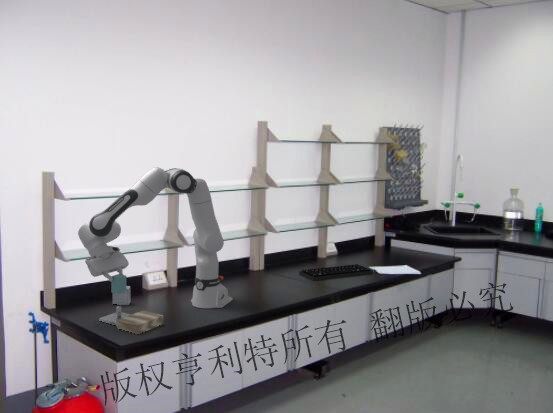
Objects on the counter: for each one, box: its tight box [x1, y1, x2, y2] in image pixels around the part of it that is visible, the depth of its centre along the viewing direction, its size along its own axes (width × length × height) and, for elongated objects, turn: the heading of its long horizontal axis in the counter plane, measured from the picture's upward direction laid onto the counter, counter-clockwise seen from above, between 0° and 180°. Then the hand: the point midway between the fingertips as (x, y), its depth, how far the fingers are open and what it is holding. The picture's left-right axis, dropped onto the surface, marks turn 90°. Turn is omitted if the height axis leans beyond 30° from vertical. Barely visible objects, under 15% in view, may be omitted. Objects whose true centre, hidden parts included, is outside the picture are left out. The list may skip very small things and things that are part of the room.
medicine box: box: [112, 285, 131, 306], centre depth 274 cm, size 8×4×9 cm, turn 92°
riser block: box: [116, 309, 164, 335], centre depth 245 cm, size 16×12×4 cm
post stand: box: [98, 305, 132, 327], centre depth 251 cm, size 12×12×6 cm
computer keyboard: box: [298, 263, 374, 282], centre depth 349 cm, size 45×16×4 cm, turn 119°
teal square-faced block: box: [110, 273, 127, 294], centre depth 249 cm, size 5×5×8 cm
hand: (117, 279), depth 249 cm, fingers closed on teal square-faced block, 5 cm apart
